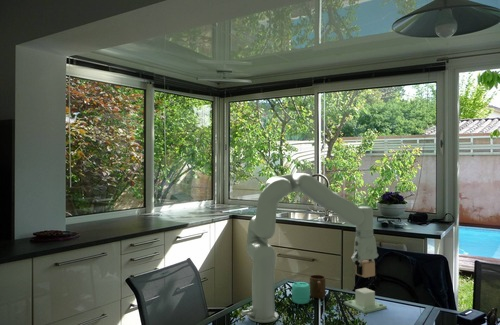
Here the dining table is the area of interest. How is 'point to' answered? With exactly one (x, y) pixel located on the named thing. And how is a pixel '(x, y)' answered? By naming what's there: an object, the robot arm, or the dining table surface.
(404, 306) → the dining table surface
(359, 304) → the tower plate
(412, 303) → the dining table surface
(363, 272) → the orange tan cube
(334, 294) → the dining table surface
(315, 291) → the mug
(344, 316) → the dining table surface
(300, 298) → the turquoise cylinder
